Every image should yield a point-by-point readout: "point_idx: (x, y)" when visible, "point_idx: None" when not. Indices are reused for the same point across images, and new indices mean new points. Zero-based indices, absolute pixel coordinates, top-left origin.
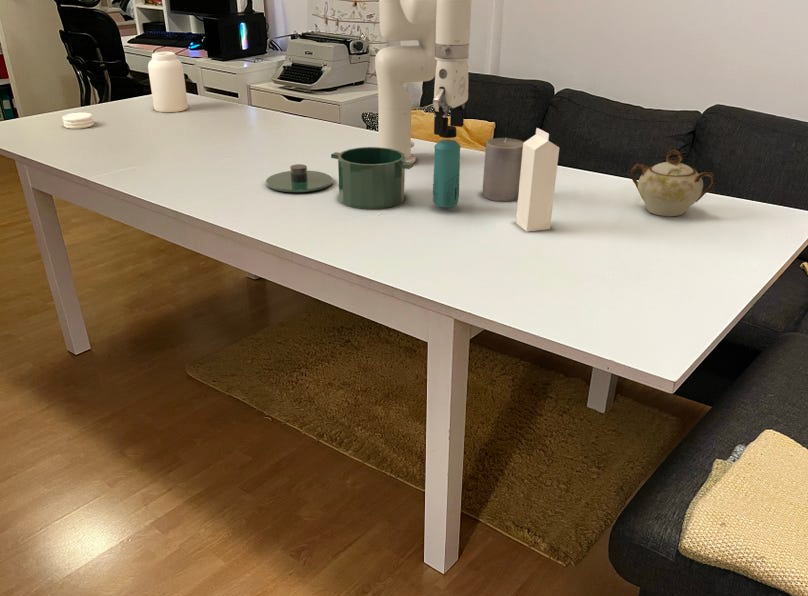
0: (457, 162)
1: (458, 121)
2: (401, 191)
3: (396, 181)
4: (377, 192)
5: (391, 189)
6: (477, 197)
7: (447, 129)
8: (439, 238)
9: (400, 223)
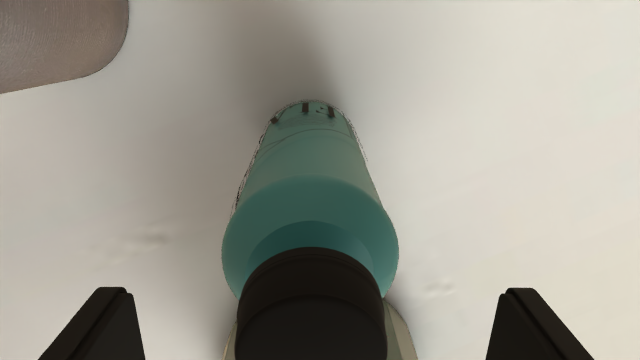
0: (327, 150)
1: (115, 352)
2: None
3: None
4: (409, 348)
5: None
6: (128, 81)
7: (547, 319)
8: (592, 48)
9: (492, 211)
